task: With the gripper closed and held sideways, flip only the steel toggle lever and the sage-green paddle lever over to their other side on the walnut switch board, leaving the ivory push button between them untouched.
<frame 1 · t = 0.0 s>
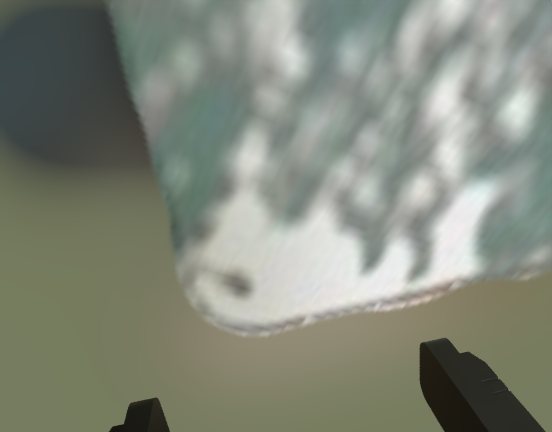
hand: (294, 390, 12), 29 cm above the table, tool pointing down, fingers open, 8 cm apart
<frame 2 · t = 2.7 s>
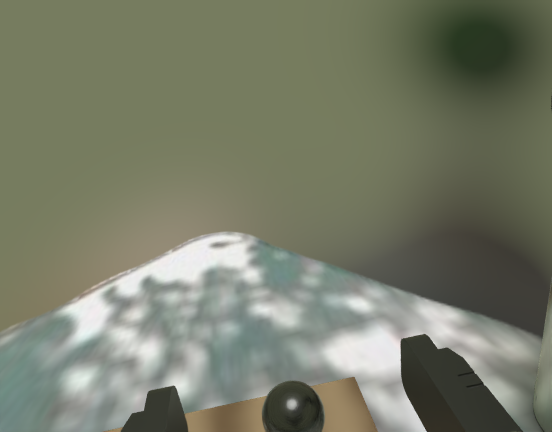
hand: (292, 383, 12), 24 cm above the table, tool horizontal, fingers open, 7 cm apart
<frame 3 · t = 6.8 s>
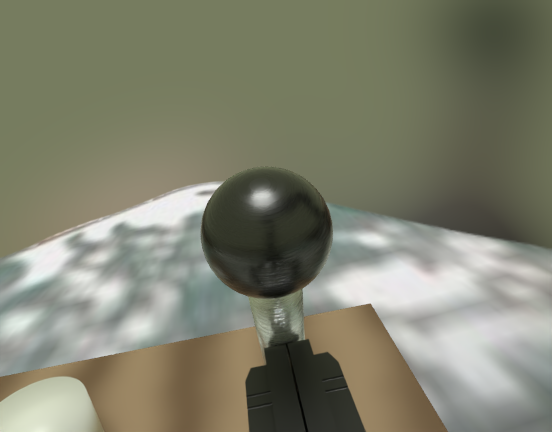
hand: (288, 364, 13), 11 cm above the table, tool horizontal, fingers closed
steel toggle lever: (282, 345, 14), point 11 cm above the table, hinge at -24.4°, touching gripper
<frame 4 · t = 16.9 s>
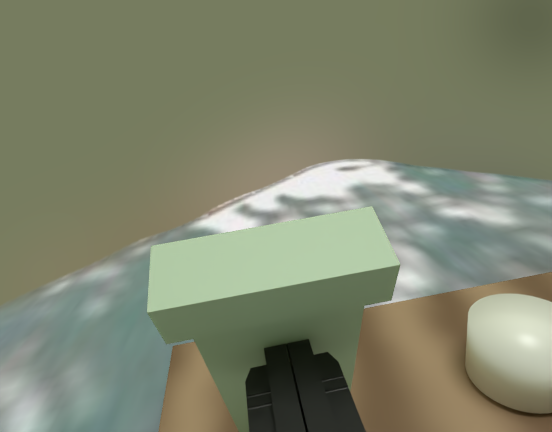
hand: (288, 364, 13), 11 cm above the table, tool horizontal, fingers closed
sage-green paddle lever: (285, 365, 15), point 10 cm above the table, hinge at -23.8°, touching gripper
ivory push button: (521, 348, 20), point 5 cm above the table, slide at 0.0 cm
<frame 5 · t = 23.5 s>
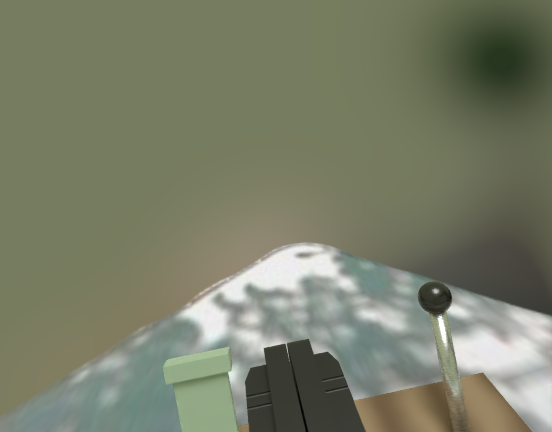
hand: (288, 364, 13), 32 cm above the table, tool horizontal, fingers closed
sage-green paddle lever: (210, 426, 38), point 10 cm above the table, hinge at 22.3°
steel toggle lever: (447, 360, 40), point 11 cm above the table, hinge at 25.7°
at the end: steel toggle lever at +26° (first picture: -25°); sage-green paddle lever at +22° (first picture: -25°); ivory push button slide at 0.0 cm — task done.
